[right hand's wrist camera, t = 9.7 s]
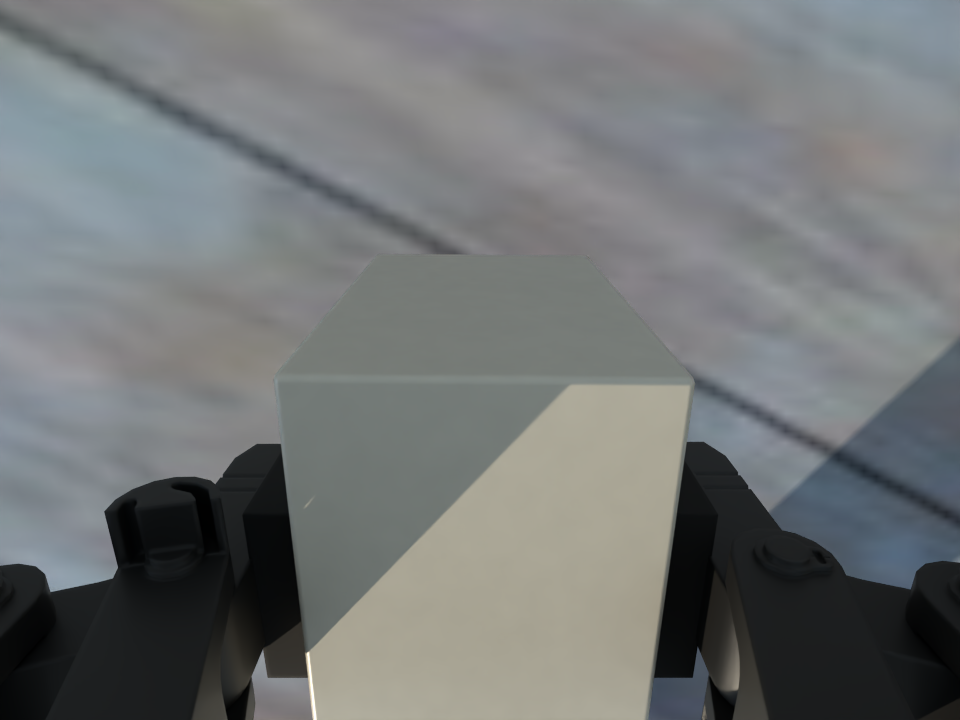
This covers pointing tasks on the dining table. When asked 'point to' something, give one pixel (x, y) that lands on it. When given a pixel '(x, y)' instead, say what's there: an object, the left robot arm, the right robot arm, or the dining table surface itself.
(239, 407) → the dining table surface
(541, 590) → the beam
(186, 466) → the dining table surface
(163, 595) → the right robot arm
